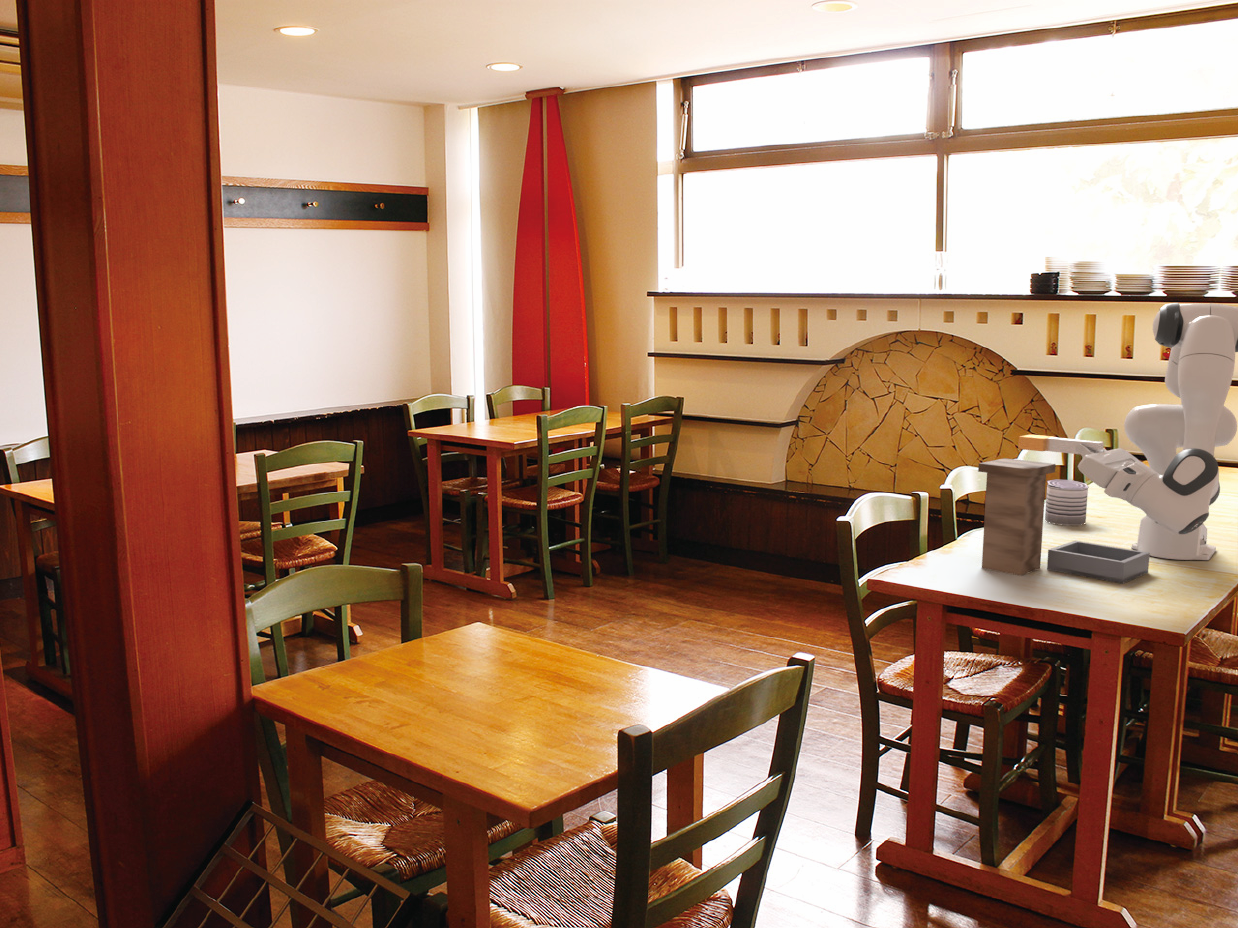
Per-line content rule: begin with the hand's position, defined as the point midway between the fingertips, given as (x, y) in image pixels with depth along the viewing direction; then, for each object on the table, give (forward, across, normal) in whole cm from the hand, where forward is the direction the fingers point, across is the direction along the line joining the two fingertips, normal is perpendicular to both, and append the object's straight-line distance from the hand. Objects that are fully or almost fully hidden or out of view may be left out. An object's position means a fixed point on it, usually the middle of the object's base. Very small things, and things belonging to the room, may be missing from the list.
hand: (1081, 445), depth 243 cm
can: (+12, -66, +44) cm, 80 cm away
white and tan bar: (+3, 0, +4) cm, 5 cm away
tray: (-16, -13, +28) cm, 35 cm away
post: (-3, 0, +35) cm, 36 cm away
